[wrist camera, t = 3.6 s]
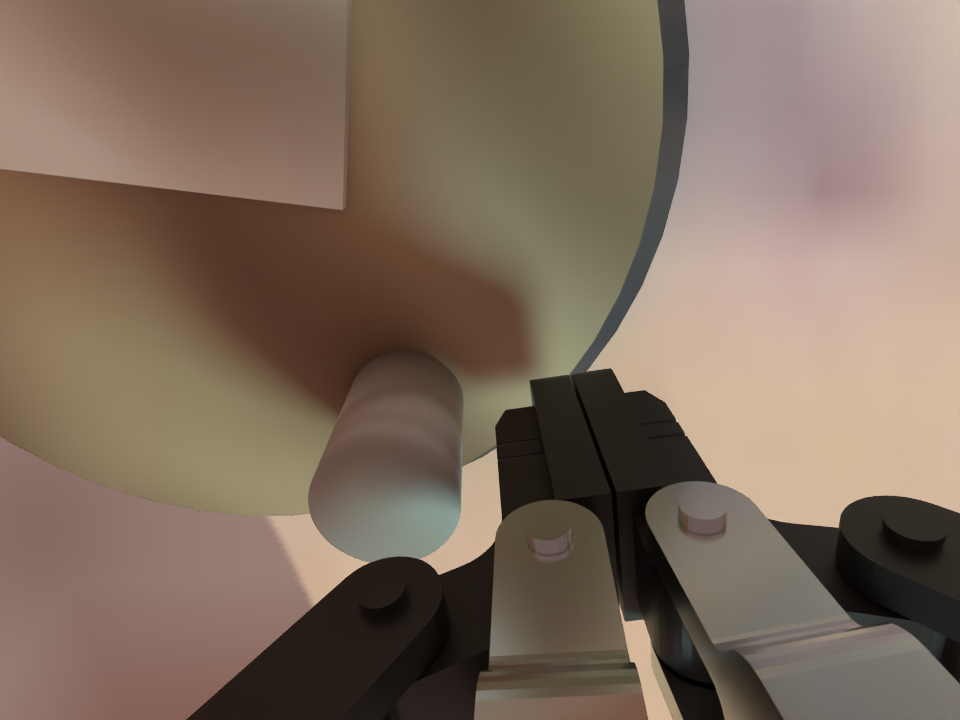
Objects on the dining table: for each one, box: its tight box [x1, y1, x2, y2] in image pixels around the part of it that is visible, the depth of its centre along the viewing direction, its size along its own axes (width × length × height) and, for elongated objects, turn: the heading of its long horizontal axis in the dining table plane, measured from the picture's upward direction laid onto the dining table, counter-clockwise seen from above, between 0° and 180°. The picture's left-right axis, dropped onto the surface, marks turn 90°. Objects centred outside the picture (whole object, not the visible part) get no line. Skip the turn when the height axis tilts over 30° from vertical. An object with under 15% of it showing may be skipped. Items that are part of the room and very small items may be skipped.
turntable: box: [0, 0, 663, 562], centre depth 9 cm, size 16×16×5 cm
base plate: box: [467, 0, 689, 464], centre depth 12 cm, size 19×18×1 cm
